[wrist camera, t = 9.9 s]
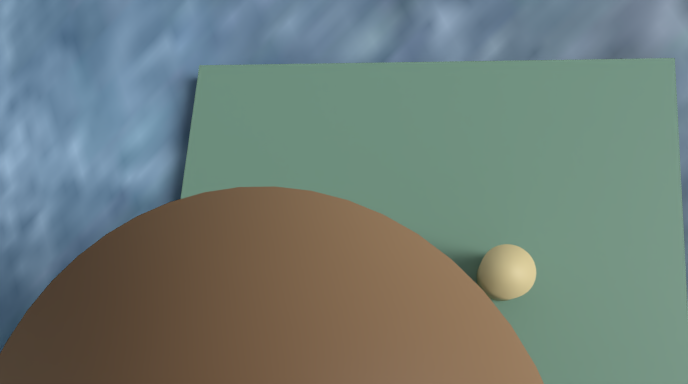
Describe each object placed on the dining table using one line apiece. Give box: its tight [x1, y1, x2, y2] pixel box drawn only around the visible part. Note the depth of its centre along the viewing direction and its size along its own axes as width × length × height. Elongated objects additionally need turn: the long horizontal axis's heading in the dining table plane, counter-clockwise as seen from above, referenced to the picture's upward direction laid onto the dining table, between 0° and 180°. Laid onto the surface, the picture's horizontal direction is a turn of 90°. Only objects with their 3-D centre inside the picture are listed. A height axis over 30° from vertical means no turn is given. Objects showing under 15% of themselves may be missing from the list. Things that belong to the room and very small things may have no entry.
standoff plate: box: [181, 58, 688, 384], centre depth 16 cm, size 20×16×4 cm
